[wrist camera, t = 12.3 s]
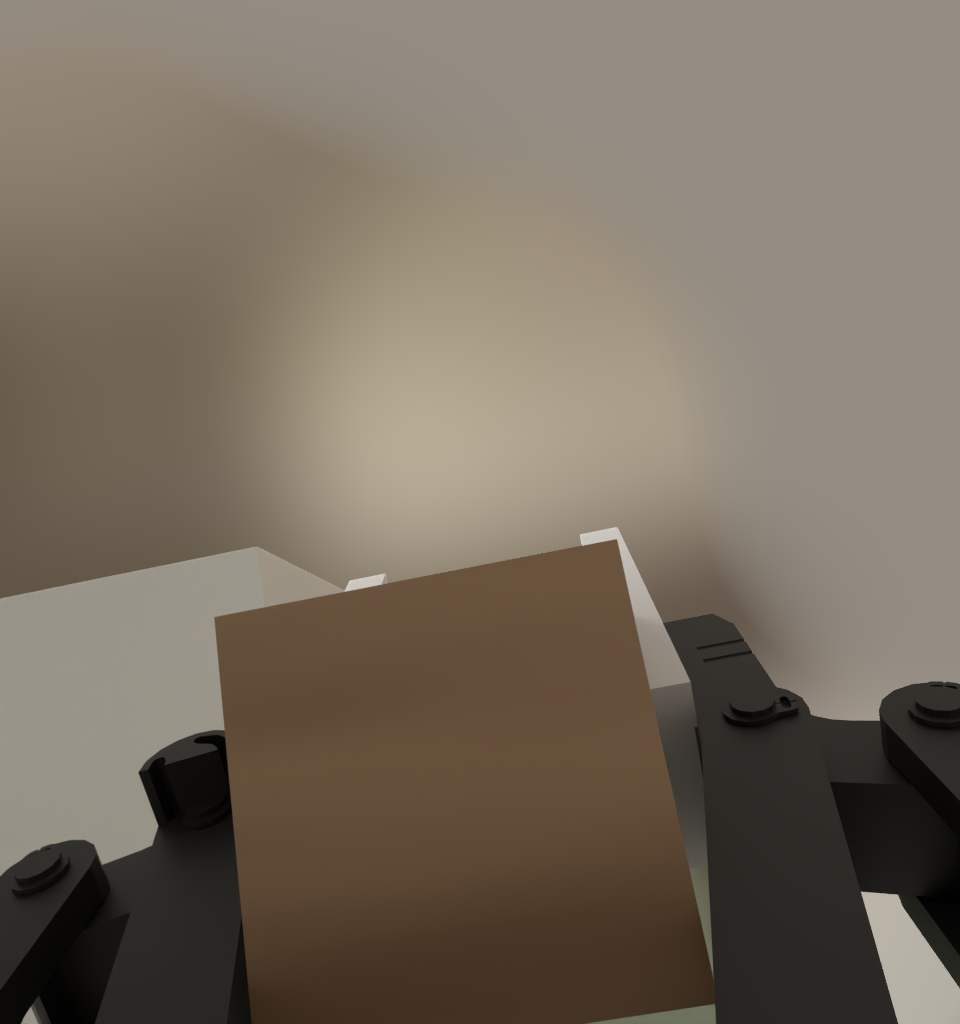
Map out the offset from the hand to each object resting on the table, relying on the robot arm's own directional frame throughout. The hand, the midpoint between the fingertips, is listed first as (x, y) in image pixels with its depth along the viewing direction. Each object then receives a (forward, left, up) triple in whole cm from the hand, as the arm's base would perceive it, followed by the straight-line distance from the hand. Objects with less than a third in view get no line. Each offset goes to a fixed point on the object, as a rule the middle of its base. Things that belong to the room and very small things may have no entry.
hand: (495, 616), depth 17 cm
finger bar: (-2, +3, -5) cm, 6 cm away
